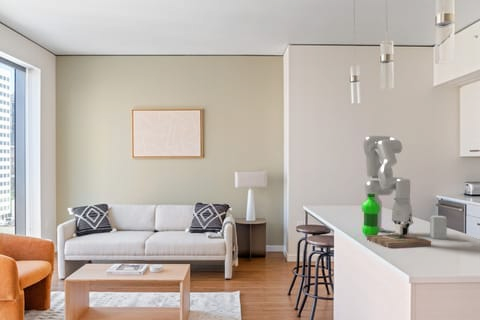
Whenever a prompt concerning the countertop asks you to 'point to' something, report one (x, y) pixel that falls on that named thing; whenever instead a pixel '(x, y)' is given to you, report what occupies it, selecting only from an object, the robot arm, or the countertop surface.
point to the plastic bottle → (370, 216)
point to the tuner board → (398, 240)
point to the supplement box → (438, 227)
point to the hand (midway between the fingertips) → (402, 233)
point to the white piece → (399, 230)
